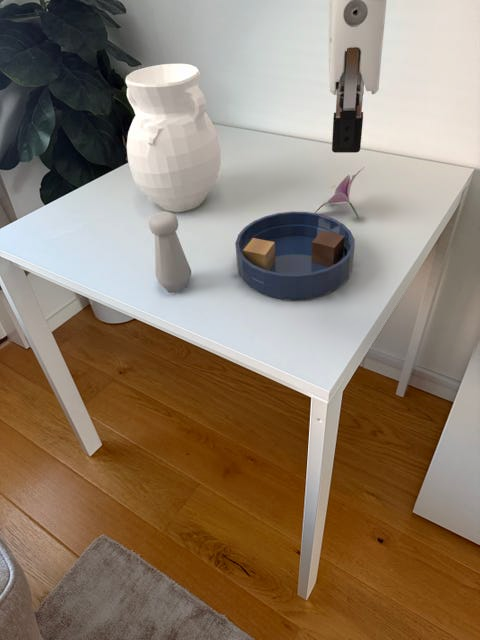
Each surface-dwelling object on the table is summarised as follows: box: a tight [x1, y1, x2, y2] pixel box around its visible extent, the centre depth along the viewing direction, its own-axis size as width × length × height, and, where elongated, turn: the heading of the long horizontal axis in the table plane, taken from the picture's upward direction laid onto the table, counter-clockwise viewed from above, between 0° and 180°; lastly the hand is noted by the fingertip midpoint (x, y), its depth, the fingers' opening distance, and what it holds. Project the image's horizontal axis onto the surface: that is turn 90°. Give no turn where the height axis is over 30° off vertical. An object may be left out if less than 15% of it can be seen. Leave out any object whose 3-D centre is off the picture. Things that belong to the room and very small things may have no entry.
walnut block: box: [311, 230, 345, 267], centre depth 80 cm, size 4×4×4 cm
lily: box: [314, 166, 365, 220], centre depth 91 cm, size 12×12×10 cm
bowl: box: [235, 211, 356, 301], centre depth 80 cm, size 19×19×5 cm
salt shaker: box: [148, 210, 192, 293], centre depth 76 cm, size 6×6×13 cm
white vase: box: [125, 63, 221, 213], centre depth 94 cm, size 19×18×25 cm
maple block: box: [243, 238, 275, 271], centre depth 80 cm, size 4×4×4 cm
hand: (345, 149), depth 56 cm, fingers closed
